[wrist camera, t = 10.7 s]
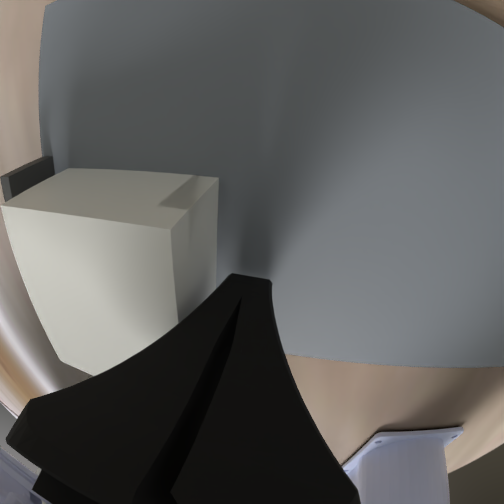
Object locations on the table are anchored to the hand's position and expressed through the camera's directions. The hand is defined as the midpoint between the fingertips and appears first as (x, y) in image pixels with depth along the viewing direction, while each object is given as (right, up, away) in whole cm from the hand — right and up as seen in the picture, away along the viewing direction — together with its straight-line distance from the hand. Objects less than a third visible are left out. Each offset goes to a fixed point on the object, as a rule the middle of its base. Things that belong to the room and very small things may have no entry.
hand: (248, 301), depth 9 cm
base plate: (+6, +3, -1) cm, 7 cm away
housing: (-4, +1, +1) cm, 4 cm away
